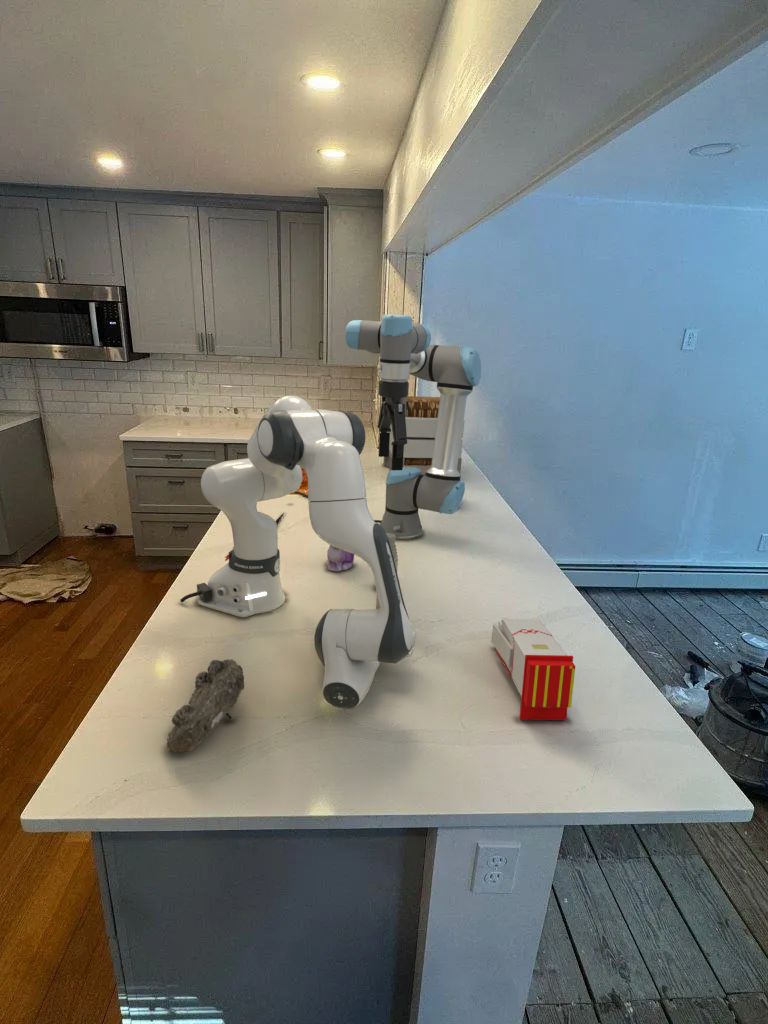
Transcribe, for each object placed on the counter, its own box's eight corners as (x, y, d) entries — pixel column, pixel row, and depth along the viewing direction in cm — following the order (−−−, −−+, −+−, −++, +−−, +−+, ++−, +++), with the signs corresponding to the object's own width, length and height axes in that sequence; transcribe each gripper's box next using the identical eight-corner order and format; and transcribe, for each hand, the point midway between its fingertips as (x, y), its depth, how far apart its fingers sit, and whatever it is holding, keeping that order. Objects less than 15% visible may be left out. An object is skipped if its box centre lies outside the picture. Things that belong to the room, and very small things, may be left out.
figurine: (332, 575, 167) (332, 527, 162) (319, 561, 175) (319, 516, 170) (361, 569, 171) (362, 523, 166) (347, 556, 179) (348, 512, 174)
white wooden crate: (382, 463, 289) (386, 382, 275) (445, 464, 293) (451, 384, 279) (390, 482, 257) (394, 392, 243) (460, 483, 261) (468, 394, 247)
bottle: (391, 614, 147) (396, 530, 139) (396, 624, 143) (401, 538, 135) (373, 616, 146) (377, 531, 138) (377, 626, 141) (381, 539, 133)
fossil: (192, 660, 117) (244, 628, 112) (224, 691, 120) (276, 661, 115) (142, 746, 98) (202, 712, 93) (182, 779, 101) (242, 748, 96)
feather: (291, 507, 225) (293, 503, 224) (273, 530, 198) (276, 526, 198) (287, 504, 224) (289, 500, 224) (269, 528, 198) (272, 523, 197)
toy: (537, 603, 136) (584, 662, 106) (532, 655, 138) (577, 726, 109) (487, 602, 135) (520, 661, 106) (483, 654, 138) (514, 725, 109)
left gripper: (411, 645, 116) (421, 613, 129) (316, 630, 120) (335, 600, 133) (409, 671, 118) (420, 637, 131) (316, 656, 122) (335, 624, 135)
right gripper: (368, 374, 151) (365, 451, 159) (392, 386, 129) (388, 476, 136) (395, 374, 153) (391, 451, 160) (423, 387, 131) (418, 475, 138)
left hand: (377, 618), depth 132 cm, fingers open, 8 cm apart
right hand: (390, 463), depth 148 cm, fingers open, 13 cm apart
